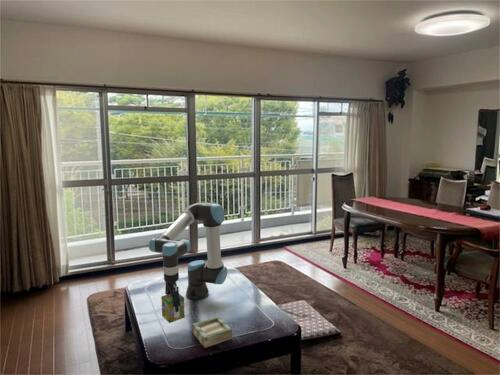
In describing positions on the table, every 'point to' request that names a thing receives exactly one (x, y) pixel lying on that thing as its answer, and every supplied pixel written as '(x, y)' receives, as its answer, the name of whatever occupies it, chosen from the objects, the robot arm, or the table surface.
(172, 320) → the chalk box
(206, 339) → the rectangular frame
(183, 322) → the table surface
